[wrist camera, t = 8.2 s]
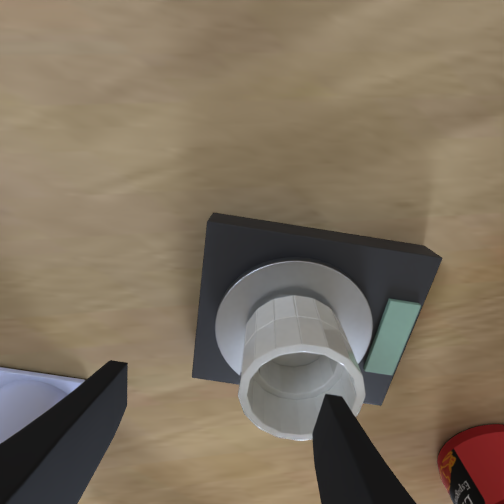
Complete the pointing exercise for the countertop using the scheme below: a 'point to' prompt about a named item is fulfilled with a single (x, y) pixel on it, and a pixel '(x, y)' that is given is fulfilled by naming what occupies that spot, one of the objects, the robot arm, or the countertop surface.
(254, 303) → the scale pan
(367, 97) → the countertop surface
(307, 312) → the cup
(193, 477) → the countertop surface
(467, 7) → the countertop surface
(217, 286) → the scale
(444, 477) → the canned food
